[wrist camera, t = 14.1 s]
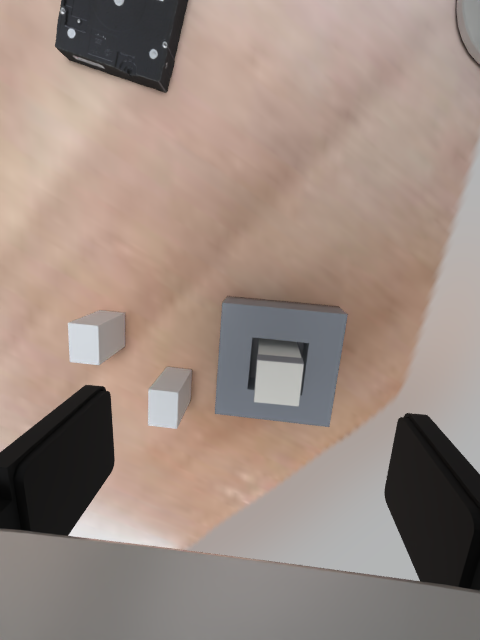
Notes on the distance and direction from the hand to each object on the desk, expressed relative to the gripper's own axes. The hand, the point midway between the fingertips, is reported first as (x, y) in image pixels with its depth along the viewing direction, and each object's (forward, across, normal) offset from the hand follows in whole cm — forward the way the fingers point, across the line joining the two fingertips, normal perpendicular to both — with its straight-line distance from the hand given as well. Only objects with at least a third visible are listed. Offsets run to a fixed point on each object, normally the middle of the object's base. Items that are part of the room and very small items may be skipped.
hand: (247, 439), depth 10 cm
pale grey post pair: (+25, +13, +8) cm, 29 cm away
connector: (+24, -2, +6) cm, 25 cm away
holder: (+25, -2, +6) cm, 26 cm away
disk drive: (+26, +14, -28) cm, 41 cm away
